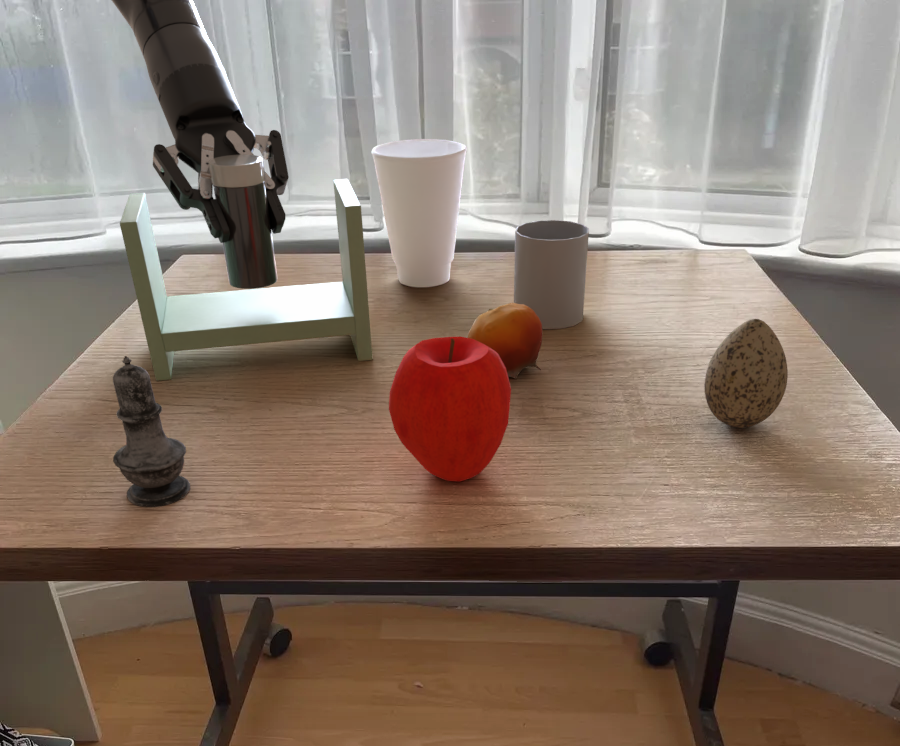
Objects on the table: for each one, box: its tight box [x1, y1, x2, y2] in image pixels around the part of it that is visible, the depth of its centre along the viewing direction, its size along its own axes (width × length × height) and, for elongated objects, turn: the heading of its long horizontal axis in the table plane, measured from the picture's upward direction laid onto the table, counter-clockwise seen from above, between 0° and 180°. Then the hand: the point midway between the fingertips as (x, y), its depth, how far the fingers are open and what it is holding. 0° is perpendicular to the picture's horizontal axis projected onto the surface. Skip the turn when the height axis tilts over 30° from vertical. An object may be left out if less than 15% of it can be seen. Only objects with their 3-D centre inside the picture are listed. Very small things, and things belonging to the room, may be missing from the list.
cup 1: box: [371, 138, 468, 288], centre depth 116 cm, size 12×12×16 cm
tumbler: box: [208, 154, 279, 290], centre depth 93 cm, size 5×5×12 cm
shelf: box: [119, 178, 374, 382], centre depth 97 cm, size 23×12×16 cm, turn 101°
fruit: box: [466, 302, 543, 380], centre depth 94 cm, size 8×8×8 cm
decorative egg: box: [703, 318, 789, 429], centre depth 81 cm, size 7×7×10 cm
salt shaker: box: [112, 355, 191, 508], centre depth 73 cm, size 6×6×12 cm
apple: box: [388, 335, 512, 482], centre depth 74 cm, size 10×10×12 cm
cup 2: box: [513, 219, 590, 330], centre depth 105 cm, size 8×8×10 cm
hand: (252, 233), depth 93 cm, fingers closed on tumbler, 5 cm apart
